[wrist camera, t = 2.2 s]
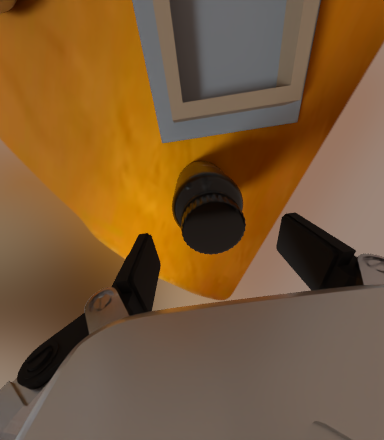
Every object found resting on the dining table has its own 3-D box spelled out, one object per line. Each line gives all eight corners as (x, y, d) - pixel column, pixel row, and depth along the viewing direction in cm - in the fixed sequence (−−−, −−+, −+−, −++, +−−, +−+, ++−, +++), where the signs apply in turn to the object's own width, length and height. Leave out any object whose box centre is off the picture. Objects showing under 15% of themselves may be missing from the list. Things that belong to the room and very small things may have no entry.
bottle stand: (110, -115, 10) (77, -226, 7) (342, -163, 10) (416, -304, 6) (163, 142, 18) (159, 143, 15) (291, 122, 17) (314, 119, 14)
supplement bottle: (217, 152, 19) (257, 168, 8) (227, 198, 22) (266, 251, 12) (168, 170, 20) (151, 205, 9) (185, 211, 23) (187, 272, 12)
